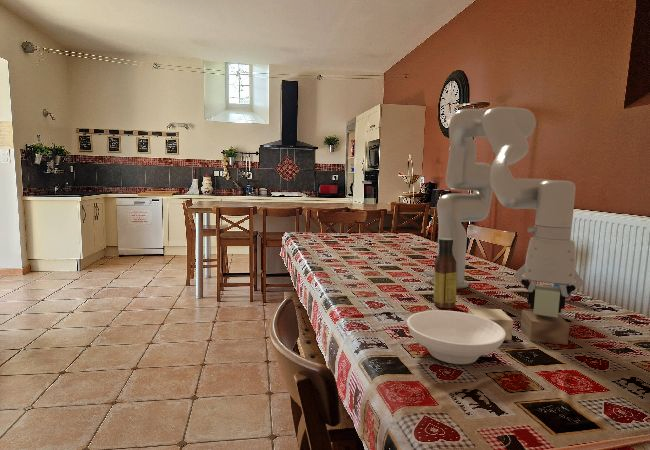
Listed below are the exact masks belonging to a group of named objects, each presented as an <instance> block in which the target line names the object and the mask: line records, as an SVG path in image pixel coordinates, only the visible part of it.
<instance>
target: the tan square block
mask: <svg viewBox="0 0 650 450" xmlns="http://www.w3.org/2000/svg"><path fill="white" fill-rule="evenodd" d="M570 325H571V324H570V323H569V322H568V321H566V320H565V319H564V318H563V317H562V316H561V315H560V314H558V317H551V316H544V315H537V314H533V310H525V309H523V310H521V317H520V330H521V332H522V333H523V332H524V333H523V335H525V337H526V336H527V337H528V338H527V337H526V338H527V339H528V341H529V342H534V341H537V342H536V343H545V342H548V343H547V344H556V345H557V344H558V345H568V343H569V335H570Z"/></svg>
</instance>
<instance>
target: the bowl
mask: <svg viewBox="0 0 650 450" xmlns="http://www.w3.org/2000/svg"><path fill="white" fill-rule="evenodd" d="M406 325H407V328H408V331H409V333H410V335H411V336H412V338H413V339H414V340H415V341H416V342H417V343H418V344H419V345H420V346H423V347H424V348H426V349H427V351H428V352H429V354H430V355H431V356H432V357H433V358H435V359H437V360H439V361H442V362H445V363H448V364H454V365H467V364H472V363H475V362H476V361H477V360H478V359H479V358H480V357H482V356H485V355H490V354H491V353H493V352H495V351H496V350H497V349H499V348H500V346H501V345H503V343H504V341H505V340H504V339H505V335H506V333H505V330H504V329H503V328H502V327H501V326H499V325H498V324H497V323H495V322H493V321H491V320H488V319H486V318H483V317H480V316H477V315H473V314H468V312H462V311H455V310H454V311H453V310H441V309H439V310H437V309H436V310H435V309H433V310H423V311H420V312H416V313H413V314H411V315H410V316H409V317H408V318H407V319H406Z"/></svg>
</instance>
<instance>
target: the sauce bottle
mask: <svg viewBox="0 0 650 450" xmlns="http://www.w3.org/2000/svg"><path fill="white" fill-rule="evenodd" d="M452 247H453V239H452V238H439V254H438V256H437V255H436V258H435V259H434V269H433V270H434V284H433V305H434V306H435V307H436V308H440V309H447V310H449V309H453V308H455V307H456V302H457V289H456V275H457V271H456V260H455V258H454V256H453V254H452V253H453V252H452Z"/></svg>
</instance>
